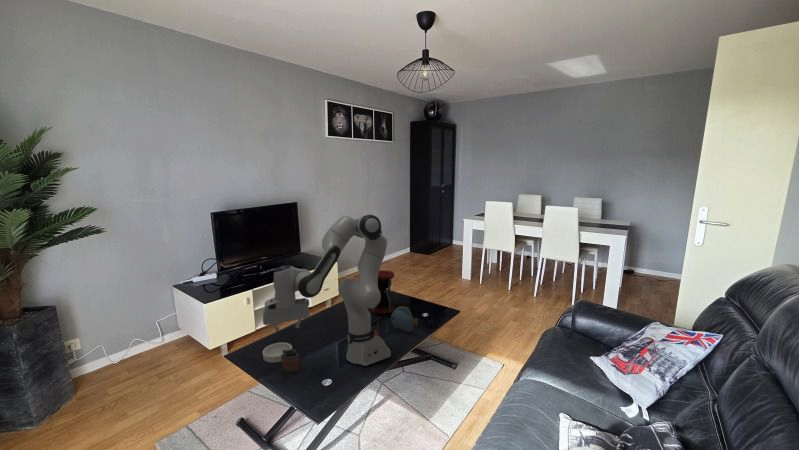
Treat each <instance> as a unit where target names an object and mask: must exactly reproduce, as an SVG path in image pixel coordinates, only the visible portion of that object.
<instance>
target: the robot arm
mask: <svg viewBox="0 0 799 450" xmlns="http://www.w3.org/2000/svg"><path fill="white" fill-rule="evenodd" d="M382 234H383V232H382V222H381V220H380V218H378V216H376V215H373V214H367V215H362V216H360V217H358V218H357V219H356V218H355V219H354V218H352V217H351V216H349V215H342V216H341V217H340V218H339V219H337V220H336V221H335V222H334V223H333V224H332V225H331V227H330V228H328V230H327V231H326V233H325V234H324V236H323V237H322V239H321V245H322V249H323V254H322V257H321V259H320V260H319V261H318V263H317V265H316V266H315V268H313V271H310V270H308V269H305V268H298V267H294V266H293V265H290V264H284V265H280V266H278V267H277V268H275V270H274V272H273V289H274V291H275V292H274V296H273V297H272V298H270V299H267V300H265V301H264V307H263V312H262V324H263V325H264V326H268V325H271V326H272V327H273V328H274V331H275V333H279V332H280V328H279V326H277V324H279V323H285V322H291V321H296V320H297V323H295V329H299V328H300V324H301V323H302V320H303V319H307V318H309V317H310V316H311V315H310V310H309V309H310V308H309V306H310V300H309V299H311V298H314V297H316V296H317V295H319V294H320V293H321V291H322V290H323V289H322V288H323V285H324V282H325V280H326V278H327V276H329V274H330V272H331V271H332V269H333V267H334V266H335V264H336V263H337V261H338V260H339V257H340V255H341V253H342V251H343V249H344V248H345V247H346V246H347V244H348V243H349V241H350V240H351V239H352V238H353V237H355V236H356V237H358V238H361V239H364V240H365V241H364V243H365V244H364V248H363V250H362V253H361V255H360V258H359V261H358V263H357V270H358V274H359V277H358V278H359V279H355V278H345V279H343V280H341V281H340V283H339V286H338V287H337V288H338V289H337V290H338V294H339V295H340V297H341V299H342V301H343V302H344V306H345V310H346V313H347V325H348V330H347V342H348V345H347V352H346V356H345V358H346V360H347V361H348V362H350V363H351V364H355V365H361V366H363V367H366V366H369V365H372V364H374V363H377V362H380V361H383V360H385V359H388V358H391V356H392V353H391V349H390V348H389V347H388V345H386V342H385V340H384V339H383V338H382V337H381V336H379V335H378V334H379V332H378V331H377V330H376V329H375V328H373V327H372V323H371V322H372V319H371V318H372V317H371V311H369V309H371V308H374V307H376V306H377V305H378V304H379V302H380V299H381V294H380V292H381V291H379V289H378V274H379V271H381V270H380V269H381V267H382V264H383V262H384V261H383V260H384V258H385V255H386V252H387V247H388V240H387V239H386V237H385V236H383V235H382ZM297 292H298V293H299V294H300V295H301V296H303V298H297V299H296V293H297ZM308 298H309V299H308Z"/></svg>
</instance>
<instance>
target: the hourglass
mask: <svg viewBox="0 0 799 450" xmlns="http://www.w3.org/2000/svg"><path fill="white" fill-rule="evenodd" d="M394 278H395V273H394V272H393V271H391V270H379V274H378V289H379V291H380V294H381V299H380V302H379V304H378V305H377V306H376V307H374V308H370V312H372V313H373V314H375V315H388V313H389V314H392V313H393V312H394V310H395V309H396V308H395V305H394V304H393V303H392V292H391V286H392V279H394ZM385 291H386V292H385ZM392 311H393V312H392Z"/></svg>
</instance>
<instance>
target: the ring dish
mask: <svg viewBox="0 0 799 450" xmlns="http://www.w3.org/2000/svg"><path fill="white" fill-rule="evenodd" d="M290 349H292V350H293V346H292V344H291V343H288V342H276V343H275V342H274V343H272V344H270V345H267V346H265V348H264V349H263V350H262V360H263V361H264V362H266V363H271V364H273V363H274V364H275V363H280V362H281V363H282V358H281V355H282V354H285V353H283V352H282V351H283V350H290Z"/></svg>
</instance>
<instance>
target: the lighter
mask: <svg viewBox="0 0 799 450" xmlns="http://www.w3.org/2000/svg"><path fill="white" fill-rule="evenodd" d="M282 352H283V353H285V354H282V355H281V358H282V361H281V365H282V367H281V372H290V373H291V372H298V371H300V369H301V368H300V354H299V352H297V349H293V348H292V349H290V350H283V351H282Z"/></svg>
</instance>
